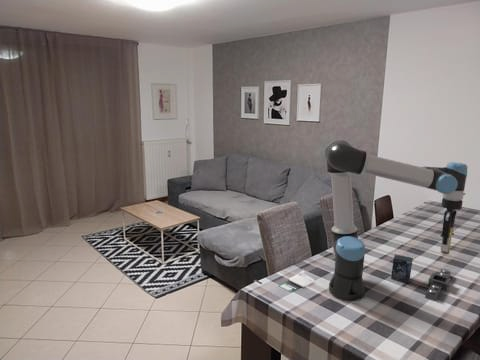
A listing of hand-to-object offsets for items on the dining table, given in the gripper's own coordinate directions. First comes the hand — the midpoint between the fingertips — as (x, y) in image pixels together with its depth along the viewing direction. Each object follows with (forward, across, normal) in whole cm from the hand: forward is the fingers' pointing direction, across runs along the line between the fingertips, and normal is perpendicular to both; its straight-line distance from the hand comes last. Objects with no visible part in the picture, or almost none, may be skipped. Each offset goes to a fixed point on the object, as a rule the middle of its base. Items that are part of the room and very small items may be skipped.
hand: (445, 249), depth 154 cm
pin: (+1, 0, 0) cm, 1 cm away
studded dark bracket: (+18, 0, 0) cm, 18 cm away
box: (+18, -5, +16) cm, 24 cm away
